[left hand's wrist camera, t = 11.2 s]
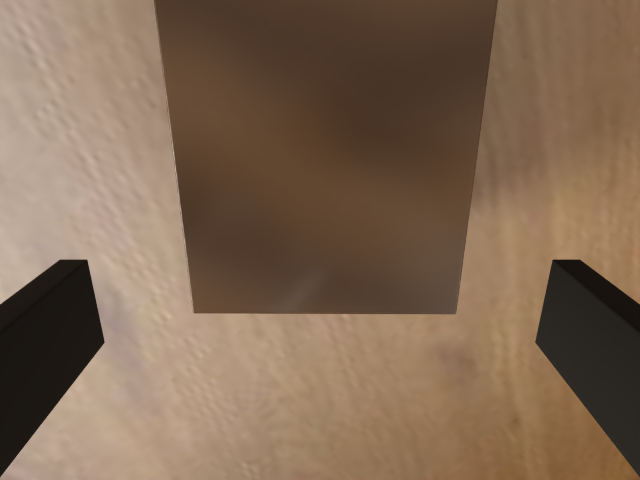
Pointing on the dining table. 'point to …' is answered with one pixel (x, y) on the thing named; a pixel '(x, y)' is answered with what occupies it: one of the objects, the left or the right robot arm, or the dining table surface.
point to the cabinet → (325, 149)
